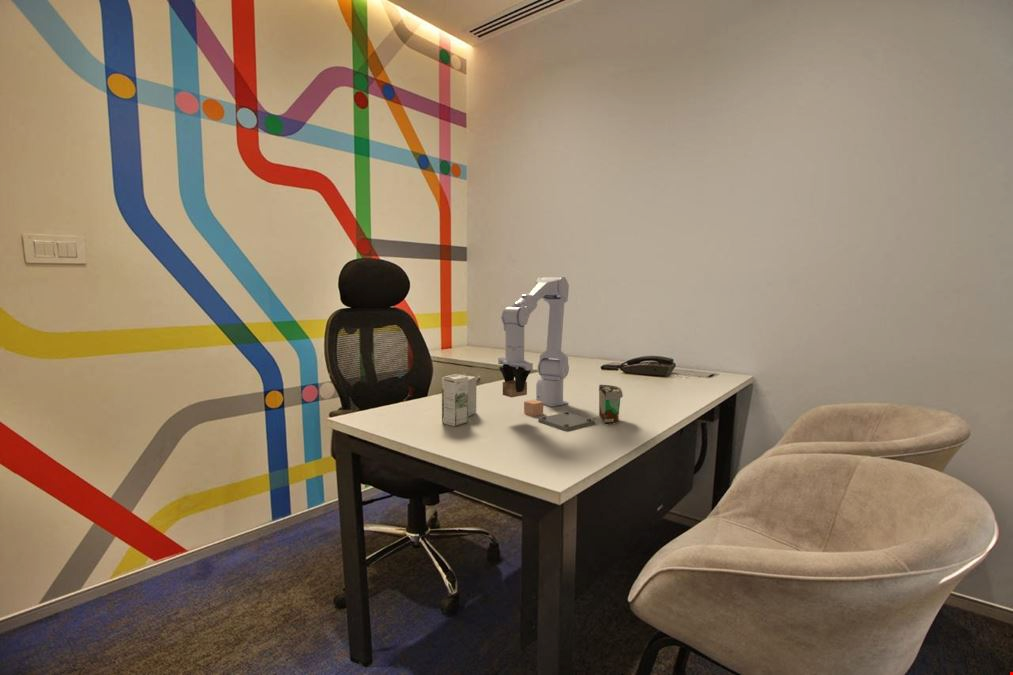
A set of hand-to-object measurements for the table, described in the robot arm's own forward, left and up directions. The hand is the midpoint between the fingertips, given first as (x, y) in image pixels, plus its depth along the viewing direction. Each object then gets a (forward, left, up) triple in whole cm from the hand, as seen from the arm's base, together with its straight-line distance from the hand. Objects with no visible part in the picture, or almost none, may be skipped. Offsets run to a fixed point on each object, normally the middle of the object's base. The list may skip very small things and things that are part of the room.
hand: (514, 390), depth 149 cm
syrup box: (-8, -16, -10) cm, 21 cm away
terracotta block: (-2, +10, -10) cm, 14 cm away
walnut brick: (0, 0, -1) cm, 1 cm away
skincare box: (-14, -8, -10) cm, 19 cm away
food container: (+18, +24, -10) cm, 31 cm away
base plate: (+12, +11, -9) cm, 18 cm away
